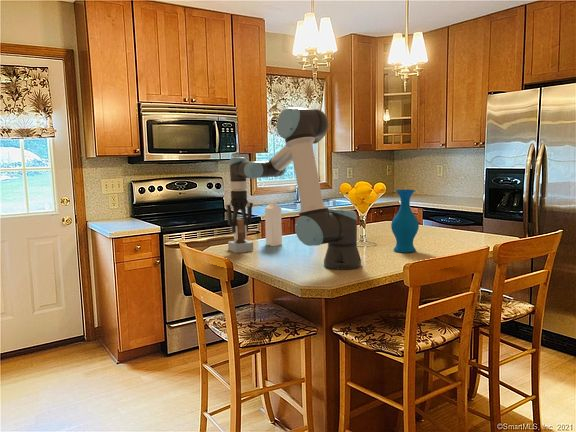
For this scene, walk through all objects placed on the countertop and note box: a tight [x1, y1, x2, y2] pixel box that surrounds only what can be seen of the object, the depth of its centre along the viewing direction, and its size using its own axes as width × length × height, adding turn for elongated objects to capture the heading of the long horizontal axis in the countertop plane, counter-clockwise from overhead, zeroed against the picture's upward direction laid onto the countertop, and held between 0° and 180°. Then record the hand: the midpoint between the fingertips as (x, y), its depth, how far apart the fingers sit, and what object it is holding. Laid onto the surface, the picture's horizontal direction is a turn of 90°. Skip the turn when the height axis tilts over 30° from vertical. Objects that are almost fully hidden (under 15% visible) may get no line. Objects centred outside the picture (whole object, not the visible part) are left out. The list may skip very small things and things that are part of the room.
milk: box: [264, 200, 283, 247], centre depth 237 cm, size 6×6×22 cm
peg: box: [235, 218, 246, 244], centre depth 225 cm, size 4×4×12 cm
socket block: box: [227, 239, 254, 254], centre depth 226 cm, size 9×9×4 cm
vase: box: [390, 189, 420, 254], centre depth 215 cm, size 12×13×28 cm
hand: (240, 238), depth 225 cm, fingers closed on peg, 4 cm apart
